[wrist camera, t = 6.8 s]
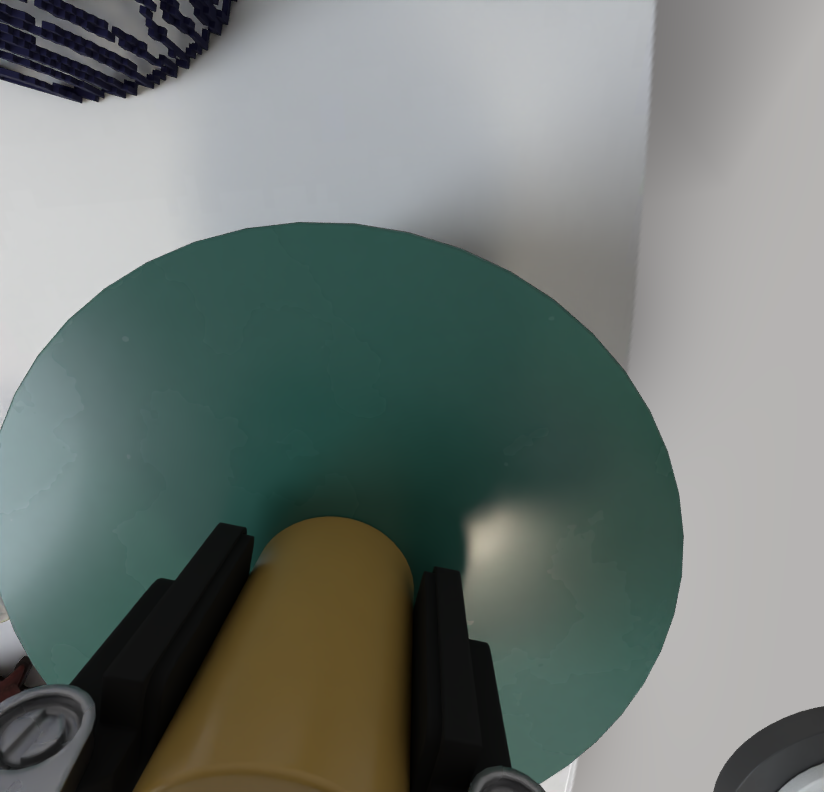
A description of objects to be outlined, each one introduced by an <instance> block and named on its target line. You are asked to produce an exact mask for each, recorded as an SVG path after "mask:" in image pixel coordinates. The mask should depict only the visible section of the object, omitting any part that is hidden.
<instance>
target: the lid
mask: <svg viewBox="0 0 824 792" xmlns="http://www.w3.org/2000/svg"><path fill="white" fill-rule="evenodd" d="M220 522H222V523H227V524H232V525H237V526H242V527H246V528H247V535H251V536H254V547H253V553H252V560H251V566H250V573H249V577H248V579H247V580H246V582H245V584H244V586H243V588H242V590H241V592H240V593H239V595H238V597H237V599H236V601H235V603H234V604H233V606H232V608H231V610H230V612H229V614H228V616H227V617H226V619H225V621H224V623H223V625H222V627H221V629H220V630H219V632H218V634H217V636H216V638H215V640H214V641H213V643H212V645H211V647H210V649H209V651H208V653H207V654H206V656H205V658H204V660H203V662H202V664H201V666H200V667H199V669H198V671H197V673H196V675H195V677H194V678H193V680H192V682H191V684H190V686H189V688H188V690H187V691H186V693H185V695H184V697H183V699H182V701H181V703H180V704H179V706H178V708H177V710H176V712H175V714H174V715H173V717H172V719H171V721H170V723H169V725H168V727H167V728H166V730H165V732H164V734H163V736H162V738H161V740H160V741H159V743H158V745H157V747H156V749H155V751H154V752H153V754H152V756H151V758H150V760H149V762H148V764H147V765H146V767H145V769H144V771H143V773H142V775H141V777H140V778H139V780H138V782H137V784H136V786H135V788H134V789H133V791H132V792H410V755H411V702H412V649H413V609H414V605H415V601H416V598H417V594H418V590H419V586H420V583H421V579H422V575H423V573H424V571H427V572H432V571H433V568H434V567H435V566H438V567H442V568H447V569H452V570H457V571H460V574H461V581H462V589H463V597H464V605H465V613H466V620H467V628H468V636H469V639H472V640H477V641H482V642H487V643H488V645H489V647H490V650H491V655H492V661H493V666H494V672H495V677H496V683H497V688H498V694H499V700H500V705H501V711H502V716H503V722H504V727H505V733H506V739H507V744H508V750H509V755H510V761H511V766H512V768H514V769H516V770H518V771H520V772H522V773H524V774H526V775H528V776H529V777H531V778H532V779H533V780H534V781H536V782H537V783H538V784H540V783H542V782H543V781H545V780H547V779H548V778H550V777H551V776H553V775H554V774H556V773H557V772H559V771H560V770H562V769H563V768H565V767H566V766H568V765H569V764H570V763H572V762H573V761H574V760H575V759H576V758H578V757H579V756H580V755H581V754H582V753H583V752H585V751H586V750H587V749H588V748H589V747H591V746H592V745H593V744H594V743H596V742H597V741H598V739H599V738H600V737H601V736H602V735H603V734H604V733H605V732H606V731H607V730H608V728H610V727H611V726H612V725H613V723H614V722H615V721H616V720H617V719H618V718H619V717H620V716H621V715H622V714H623V712H624V711H625V709H626V708H627V707H628V705H629V704H630V702H631V701H632V700H633V698H634V697H635V695H636V694H637V693H638V691H639V690H640V688H641V687H642V686H643V684H644V682H645V680H646V679H647V677H648V675H649V673H650V671H651V669H652V667H653V665H654V663H655V661H656V660H657V658H658V656H659V654H660V652H661V650H662V647H663V644H664V641H665V638H666V636H667V633H668V630H669V628H670V625H671V622H672V619H673V616H674V612H675V608H676V603H677V598H678V592H679V587H680V582H681V578H682V560H683V539H684V535H683V526H682V516H681V507H680V498H679V492H678V488H677V484H676V480H675V477H674V473H673V469H672V465H671V461H670V458H669V454H668V451H667V449H666V446H665V444H664V442H663V440H662V437H661V435H660V432H659V430H658V428H657V426H656V423H655V421H654V419H653V417H652V414H651V412H650V410H649V408H648V407H647V405H646V403H645V402H644V400H643V399H642V397H641V396H640V394H639V392H638V391H637V389H636V388H635V386H634V384H633V383H632V381H631V380H630V378H629V377H628V375H627V373H626V372H625V370H624V369H623V368H622V367H621V366H620V364H619V363H618V362H617V361H616V360H615V359H614V357H613V356H612V355H611V354H610V353H609V352H608V350H607V349H606V348H605V347H604V346H603V345H602V343H601V342H600V341H599V340H598V339H597V338H596V337H595V335H594V334H593V333H592V332H591V331H589V330H588V329H587V328H586V327H585V326H584V325H583V324H581V323H580V322H579V321H578V320H577V319H576V318H575V317H573V316H572V315H571V314H570V313H569V312H568V311H567V310H565V309H564V308H563V307H562V306H561V305H560V304H559V303H557V302H556V301H555V300H554V299H552V298H551V297H549V296H548V295H546V294H545V293H543V292H541V291H540V290H538V289H537V288H535V287H534V286H532V285H531V284H529V283H528V282H526V281H524V280H523V279H521V278H520V277H518V276H517V275H515V274H514V273H512V272H511V271H509V270H506V269H504V268H502V267H500V266H498V265H496V264H494V263H491V262H489V261H487V260H485V259H483V258H481V257H479V256H476V255H474V254H472V253H470V252H468V251H466V250H464V249H461V248H458V247H455V246H452V245H448V244H445V243H442V242H439V241H435V240H432V239H429V238H426V237H423V236H419V235H416V234H413V233H410V232H404V231H398V230H392V229H385V228H379V227H373V226H367V225H361V224H355V223H315V222H296V223H288V224H279V225H270V226H262V227H253V228H245V229H241V230H238V231H234V232H230V233H226V234H223V235H219V236H215V237H211V238H207V239H204V240H200V241H196V242H193V243H191V244H188V245H186V246H184V247H181V248H179V249H177V250H174V251H172V252H170V253H167V254H165V255H163V256H160V257H158V258H156V259H153V260H151V261H149V262H147V263H145V264H143V265H142V266H140V267H138V268H137V269H135V270H134V271H132V272H130V273H129V274H127V275H126V276H124V277H122V278H121V279H119V280H117V281H116V282H114V283H113V284H111V285H109V286H108V287H106V288H105V289H103V290H102V291H101V292H100V293H99V294H98V295H96V296H95V297H94V298H93V299H92V300H91V301H89V302H88V303H87V304H86V305H85V306H84V307H83V308H81V309H80V310H79V311H78V312H77V313H76V314H74V315H73V316H72V317H71V318H70V319H69V320H68V321H67V322H66V323H65V324H64V325H63V327H62V328H61V329H60V330H59V331H58V332H57V334H56V335H55V336H54V337H53V338H52V340H51V341H50V342H49V343H48V344H47V345H46V347H45V348H44V349H43V350H42V351H41V353H40V354H39V355H38V356H37V358H36V360H35V361H34V363H33V364H32V366H31V368H30V369H29V371H28V373H27V374H26V376H25V378H24V379H23V381H22V383H21V384H20V386H19V388H18V389H17V391H16V393H15V395H14V397H13V400H12V402H11V405H10V407H9V410H8V412H7V415H6V417H5V420H4V422H3V425H2V427H1V430H0V596H1V598H2V601H3V603H4V606H5V609H6V611H7V614H8V616H9V619H10V621H11V624H12V627H13V629H14V631H15V633H16V635H17V637H18V639H19V640H20V642H21V644H22V646H23V648H24V650H25V651H26V653H27V655H28V657H29V659H30V661H31V662H32V664H33V666H34V667H35V669H36V670H37V671H38V673H39V674H40V675H41V677H42V678H43V680H44V681H45V682H46V684H47V685H49V684H67V685H69V684H70V683H71V682H72V680H73V679H74V678H75V677H76V676H77V674H78V673H79V672H80V671H81V669H82V668H83V667H84V666H85V665H86V663H87V662H88V661H89V660H90V659H91V657H92V656H93V655H94V654H95V653H96V651H97V650H98V649H99V648H100V646H101V645H102V644H103V643H104V642H105V640H106V639H107V638H108V637H109V636H110V634H111V633H112V632H113V631H114V629H115V628H116V627H117V626H118V625H119V623H120V622H121V621H122V620H123V619H124V617H125V616H126V615H127V614H128V613H129V611H130V610H131V609H132V608H133V606H134V605H135V604H136V603H137V602H138V600H139V599H140V598H141V597H142V596H143V594H144V593H145V592H146V591H147V590H148V588H149V587H150V586H151V585H152V584H153V583H154V582H155V581H156V580H157V579H159V578H165V579H170V580H176V578H177V577H178V576H179V574H180V573H181V572H182V570H183V569H184V568H185V566H186V565H187V564H188V563H189V561H190V560H191V559H192V557H193V556H194V555H195V553H196V552H197V551H198V549H199V548H200V547H201V546H202V544H203V543H204V542H205V540H206V539H207V538H208V536H209V535H210V534H211V532H212V531H213V530H214V529H215V527H216V526H217V525H218V524H219V523H220Z"/></svg>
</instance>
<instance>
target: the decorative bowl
mask: <svg viewBox="0 0 824 792" xmlns="http://www.w3.org/2000/svg"><path fill="white" fill-rule="evenodd" d="M20 1H22V2H25V3H27V0H20ZM135 1H136V2H138V3H142V4H144V5H145V6H146V7H145V6H141V5H140V11H139V12H140V13H141V14H142V15H143V16H144V17H145V18H146V24H145V25H146V26H147V27H148V28H149V29H148V35H149V36H150V37H151V38H152V39H154V40H156V41H160V42H161V43H162V44H163V45H165V46H166V47H167V48H168V56H169V57H171V58H174V59H176V64H175V63H173V62H172V61H171V60H170V59H168V58H167V57H166V56H164V55H161V54H159V59H157V58H155V57H154V56H152V55H151V54H150V53H148V52H147V44H146V43H145V42H142V41H139V40H137V39H136V38H135V37H133V36H132V35H129V34H126V33H125V32H123V31H122V30H121V29H119V28H117V27H114V26H112V33H111V32H110V31H108V22H106V21H105V20H102V19H99V18H97V17H96V16H94V15H92V14H89V13H87V12H85V11H84V10H81V9H78V8H76V7H75V6H73V5H71V4H68V3H65V2H64V1H62V0H34V5H35V6H36V7H38V8H39V9H43V10H46V11H48V12H49V13H51V14H52V15H54V16H55V17H58V18H61V19H64V20H68V21H70V22H71V23H73V24H75V25H79V26H81V27H82V28H84V29H85V30H87V31H88V32H91V33H94V34H96V35H97V36H99V37H103V38H105V39H107V40H108V41H111V42H114V43H115V36H116V37H118V38H119V43H118V45H119V46H120V47H122V48H123V49H124V50H127V51H130V52H132V53H133V54H135V55H136V56H138V57H141V58H144V59H145V60H146V61H148V62H149V63H151V64H152V65H155V66H158V67H161V71H159V70H156V69H155V70H153V72H152V74H147V77H144V76H143V75H141V74H140V73H138V72H137V65H136V64H135V63H133V62H132V61H130V60H129V59H126V58H123V57H121V56H120V55H118V54H117V53H115V52H112V51H109V50H107V49H106V48H103V47H100V46H98V45H96V44H95V43H93V42H92V41H89V40H86V39H84V38H82V37H80V36H77V35H74V34H73V33H71V32H69V31H65V30H63V29H62V28H60V27H59V26H57V25H55V24H52V23H49V22H46V21H42V28H41V27H37V26H35V18H34V17H32V16H31V15H29V14H28V13H26V12H23V11H20V10H17V9H13V8H11V7H9V6H8V5H6V4H2V3H0V22H4V23H7V24H10V25H12V26H14V27H16V28H19V29H22V30H26V31H29V32H30V33H32V34H35V35H38V36H40V37H42V38H44V39H47V40H50V41H52V42H54V43H56V44H59V45H63V46H66V47H68V48H70V49H72V50H73V51H75V52H77V53H78V54H80V55H83V56H87V57H90V58H93V59H95V60H96V61H98V62H99V63H102V64H106V65H107V66H109V67H111V68H112V69H114V70H115V71H118V72H121V73H123V74H125V75H126V76H128V77H130V78H131V79H135V82H131V81H128V80H125V79H124V83H122V82H120V81H118V80H117V79H115V78H113V77H110V76H107V75H105V74H104V73H102V72H100V71H96V70H94V69H92V68H90V67H89V66H87V65H83V64H81V63H79V62H77V61H74V60H71V59H69V58H67V57H64V56H61V55H59V54H57V53H54V52H51V51H49V50H47V49H45V48H41V47H39V46H37V45H36V37H34V36H32V35H30V34H27V33H24V32H22V31H21V30H18V29H14V28H12V27H10V26H9V25H6V24H2V23H0V48H1V49H4V50H8V51H11V52H12V53H14V54H18V55H21V56H23V57H25V58H28V59H31V60H35V61H38V62H40V63H42V64H45V65H48V66H50V67H52V68H55V69H59V70H61V71H62V72H66V73H69V74H71V75H73V76H75V77H76V78H78V79H80V80H78V79H76V78H74V77H72V76H70V75H66V74H64V73H62V72H59V71H56V70H54V69H52V68H49V67H45V66H43V65H41V64H38V63H35V62H33V61H31V60H28V59H25V58H21V57H18V56H16V55H14V54H11V53H8V52H4V51H1V50H0V58H2V59H5V60H7V61H9V62H12V63H16V64H19V65H22V66H24V67H26V68H30V69H33V70H35V71H37V72H40V73H44V74H47V75H50V76H52V77H54V78H56V79H59V80H62V81H64V82H66V83H68V84H70V85H74V88H71V87H67V86H64V85H60V84H57V83H53V85H51V84H49V83H47V82H44V81H41V80H38V79H36V78H33V77H29V76H26V75H23V74H21V73H18V72H15V71H11V70H8V69H5V68H2V67H0V79H1V80H4V81H7V82H11V83H14V84H18V85H21V86H25V87H28V88H32V89H35V90H38V91H42V92H45V93H49V94H52V95H56V96H59V97H62V98H66V99H69V100H73V101H76V102H80V103H82V98H86V99H89V100H93V101H96V102H98V100H99V97H102V98H104V93H109V94H112V95H115V96H119V97H122V98H126V93H129V94H132V95H135V96H137V88H138V85H142V86H145V87H148V88H152V89H154V83H155V84H158V85H160V79H162V80H166V75H169V76H172V77H175V78H177V71H178V66H179V67H182V68H186V69H189V63H190V58H193V59H196V53H197V54H201V55H202V49H205V50H208V44H209V37H210V32H211V33H214V34H217V35H220V36H221V31H222V24H226V25H228V21H229V14H230V7H231V0H223V6H222V11H221V10H218V9H216V7H215V6H214V5H213V4H215V5H218V4H219V0H189V2H190V3H191V4H192V6H193V7H194V15H195V16H196V18H197V19H198V20H199V21H200V22H201V23H202V24H203V25H205V26H208V30H206V29H203V28H202V36H200V35H199V34H198V33H197V32H196V31H195V23H194V22H193V21H192V20H191V19H190V18H188V17H185V16H183V15H182V14H181V12H180V11H179V5H180V4H179V3H178V2H177V1H176V0H160V1H161V2H160V9H161V10H162V11H163V15H162V18H163V19H164V20H165V21H166V22H167V23H168V24H172V25H174V26H175V27H176V28H177V29H178V30H180V31H181V32H182V33H184V34H187V35H189V36H190V37H191V38H192V39H193V40H194V41H195V43H192V44H190V43H189V48H187V47H186V52H185V53H184V52H183V51H182V50H181V49H180V48H179V47H178V46H176V45H175V44H174V43H173V42H172V41H171V40H170V39H169V38H167V29H166V28H164V27H161V26H158V25H157V24H156V23H155V22H154V21H153V20H152V17H153V13H152V12H151V11H154V12H156V7H157V5H156V4H155V3H154V2H153V1H152V0H135ZM232 1H236V2H237V0H232ZM150 10H151V11H150ZM176 56H178V57H179V58H180V59H177V58H176ZM164 65H166V66H164ZM81 80H84V81H87V82H88V83H91V84H94V85H97V86H98V87H100V88H101V90H99V89H97V88H95V87H94V86H92V85H90V84H88V83H86V82H84V81H81Z"/></svg>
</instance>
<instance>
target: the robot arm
mask: <svg viewBox="0 0 824 792" xmlns="http://www.w3.org/2000/svg"><path fill="white" fill-rule="evenodd" d="M253 547H254V536H251V535H247V528H246V527H242V526H237V525H232V524H227V523H222V522H220V523H219V524H218V525H217V526H216V527H215V529H214V530H213V531H212V532H211V534H210V535H209V536H208V538H207V539H206V540H205V542H204V543H203V544H202V546H201V547H200V548H199V549H198V551H197V552H196V553H195V555H194V556H193V557H192V559H191V560H190V561H189V563H188V564H187V565H186V566H185V568H184V569H183V570H182V572H181V573H180V574H179V576H178V577H177V578H176V580H170V579H165V578H159V579H157V580H156V581H155V582H154V583H153V584H152V585H151V586H150V587H149V588H148V590H147V591H146V592H145V593H144V594H143V596H142V597H141V598H140V599H139V600H138V602H137V603H136V604H135V605H134V606H133V608H132V609H131V610H130V611H129V613H128V614H127V615H126V616H125V617H124V619H123V620H122V621H121V622H120V623H119V625H118V626H117V627H116V628H115V629H114V631H113V632H112V633H111V634H110V636H109V637H108V638H107V639H106V640H105V642H104V643H103V644H102V645H101V646H100V648H99V649H98V650H97V651H96V653H95V654H94V655H93V656H92V657H91V659H90V660H89V661H88V662H87V663H86V665H85V666H84V667H83V668H82V669H81V671H80V672H79V673H78V674H77V676H76V677H75V678H74V679H73V680H72V682H71V683H70V684H69V685H67V684H49V685H42V686H38V687H34V688H31V689H27V690H24V691H22V692H20V693H18V694H16V695H14V696H11V697H9V698H7V699H5V700H4V701H3V702H1V703H0V792H132V791H133V789H134V788H135V786H136V784H137V782H138V780H139V778H140V777H141V775H142V773H143V771H144V769H145V767H146V765H147V764H148V762H149V760H150V758H151V756H152V754H153V752H154V751H155V749H156V747H157V745H158V743H159V741H160V740H161V738H162V736H163V734H164V732H165V730H166V728H167V727H168V725H169V723H170V721H171V719H172V717H173V715H174V714H175V712H176V710H177V708H178V706H179V704H180V703H181V701H182V699H183V697H184V695H185V693H186V691H187V690H188V688H189V686H190V684H191V682H192V680H193V678H194V677H195V675H196V673H197V671H198V669H199V667H200V666H201V664H202V662H203V660H204V658H205V656H206V654H207V653H208V651H209V649H210V647H211V645H212V643H213V641H214V640H215V638H216V636H217V634H218V632H219V630H220V629H221V627H222V625H223V623H224V621H225V619H226V617H227V616H228V614H229V612H230V610H231V608H232V606H233V604H234V603H235V601H236V599H237V597H238V595H239V593H240V592H241V590H242V588H243V586H244V584H245V582H246V580H247V579H248V577H249V573H250V566H251V560H252V553H253ZM410 792H545V790H544V789H543V788H542V787H541V786H540V785H539V784H538V783H537V782H536V781H534V780H533V779H532V778H531V777H529V776H528V775H526V774H524V773H522V772H520V771H518V770H516V769H514V768H512V766H511V761H510V755H509V750H508V744H507V739H506V733H505V727H504V722H503V716H502V711H501V705H500V700H499V694H498V688H497V683H496V677H495V672H494V666H493V661H492V655H491V650H490V647H489V645H488V643H487V642H482V641H477V640H472V639H469V636H468V628H467V620H466V613H465V605H464V597H463V589H462V581H461V574H460V571H457V570H452V569H447V568H442V567H438V566H435V567H434V568H433V571H432V572H427V571H424V573H423V575H422V579H421V583H420V586H419V590H418V594H417V598H416V601H415V605H414V609H413V649H412V702H411V755H410ZM778 792H824V762H823V763H821V764H818V765H816V766H813V767H811V768H809V769H807V770H805V771H803V772H801V773H800V774H798V775H796V776H795V777H794V778H792V779H791V780H790V781H788V782H787V783H786V784H785V785H784V786H783V787H782V788H781V789H780V790H779V791H778Z"/></svg>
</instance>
